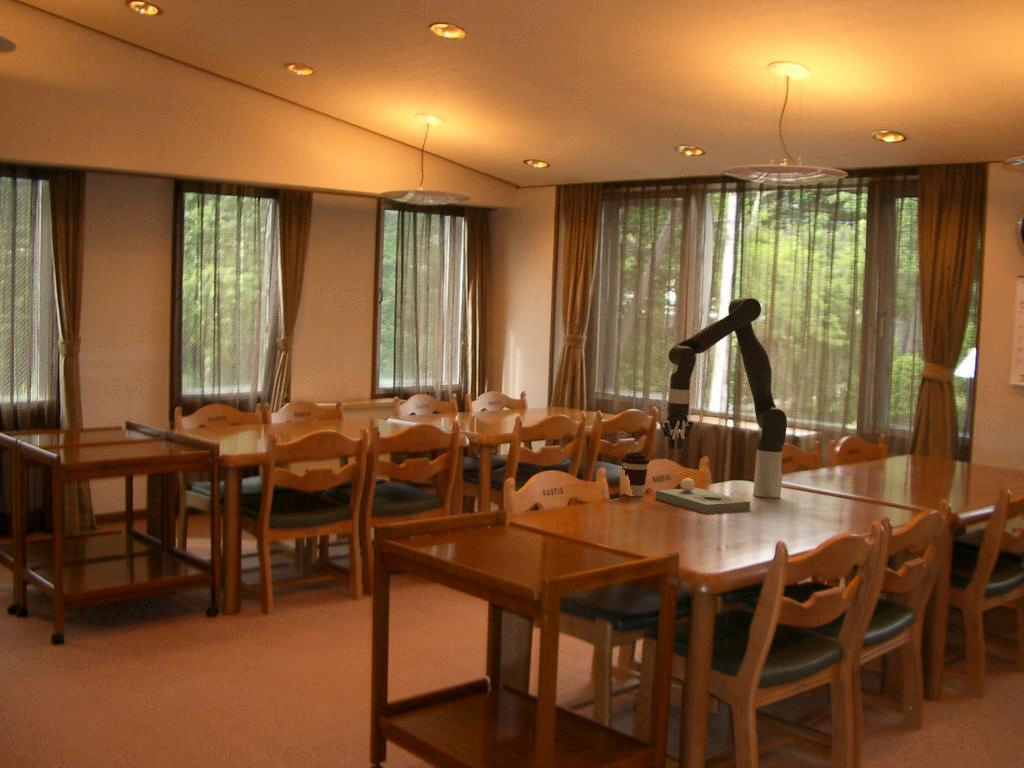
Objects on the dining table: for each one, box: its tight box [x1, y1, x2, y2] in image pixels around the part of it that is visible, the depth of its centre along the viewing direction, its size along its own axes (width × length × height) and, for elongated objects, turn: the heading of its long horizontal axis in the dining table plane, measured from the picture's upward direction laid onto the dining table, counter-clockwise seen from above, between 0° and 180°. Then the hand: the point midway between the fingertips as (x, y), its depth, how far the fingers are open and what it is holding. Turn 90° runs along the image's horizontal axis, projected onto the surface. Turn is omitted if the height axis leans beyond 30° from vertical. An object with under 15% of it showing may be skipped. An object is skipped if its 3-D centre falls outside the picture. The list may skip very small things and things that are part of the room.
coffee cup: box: [620, 452, 650, 498], centre depth 373 cm, size 10×10×15 cm
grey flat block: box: [655, 487, 751, 514], centre depth 363 cm, size 20×26×3 cm
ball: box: [680, 477, 696, 492], centre depth 369 cm, size 5×5×5 cm
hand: (675, 449), depth 375 cm, fingers open, 3 cm apart
